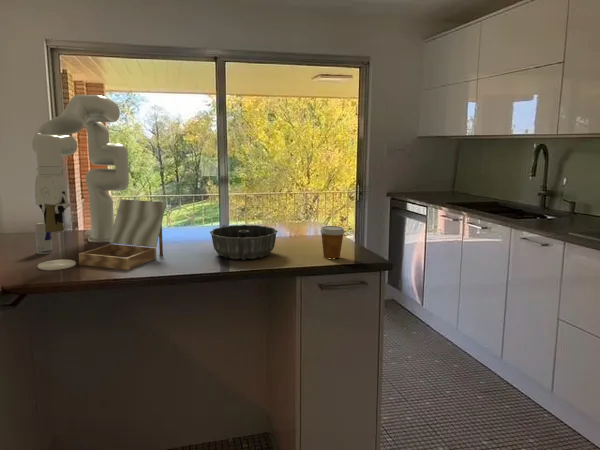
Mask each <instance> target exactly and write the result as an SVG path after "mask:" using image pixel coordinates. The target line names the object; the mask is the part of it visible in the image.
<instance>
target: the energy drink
mask: <svg viewBox="0 0 600 450" xmlns="http://www.w3.org/2000/svg"><path fill="white" fill-rule="evenodd" d="M34 231H35V232H34V233H35V243H36V244H35V245H36V253H37V255H49V254H51V253H53V243H52V242H53V241H52V232H45V223H44V221H38V222H35V225H34Z"/></svg>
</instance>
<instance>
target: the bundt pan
mask: <svg viewBox="0 0 600 450" xmlns="http://www.w3.org/2000/svg"><path fill="white" fill-rule="evenodd" d="M209 233H210V235H211V240H212V245H213V248H214V251H215V252H216V253H217V254H218V255H219V256H221V257H223V256H224V257H223V258H225V259H227V258H230V259H233V260H240V259H241V260H243V261H245V260H247V259H249V260H254V259H257V258H258V259H261V258H264V257H265V256H268V255H269V254H270V253H271V252H272V251H273V249H274V248H275V245H276V238H277V234H278V230H277V229H276V228H274V227H271V226H270V227H269V226H267V225H266V226H265V225H257V224H249V225H248V224H240V225H239V224H238V225H236V224H235V225H228V226H220V227H217V228H213V229H212V230H210V231H209Z"/></svg>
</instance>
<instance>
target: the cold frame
mask: <svg viewBox="0 0 600 450" xmlns="http://www.w3.org/2000/svg"><path fill="white" fill-rule="evenodd" d="M118 204H119V205H118V208H117V212H116V215H115V219H114V228H113V232H112V236H111V241H110V242H109V244H106V245H103V246H99V247H96V248H93V249H90V250H87V251H83V252H79V253H78V265H80V266H81V265H82V266H90V267H99V268H107V269H108V268H110V269H118V270H119V269H120V270H126V271H129V270H131V269H134V268H136V267H138V266H141V265H143V264H146V263H148V262H150V261H154V260H156V259H157V247H158V246H159V247H158V248H159V256H161V257H163V256H164V254H163V253H164V249H163V248H164V247H163V246H164V245H163V243H164V242H163V220H164V215H165V209H166V205H167V202H166V201H154V200H152V201H151V200H140V199H139V200H138V199H137V200H136V199H123V198H122V199H120V200H119V203H118ZM158 244H159V245H158Z"/></svg>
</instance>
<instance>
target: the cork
mask: <svg viewBox="0 0 600 450" xmlns="http://www.w3.org/2000/svg"><path fill="white" fill-rule="evenodd" d="M59 204H61V203H59ZM44 206H45V208H46V209H47V210H46V224H45V232H51V233H57V232H58V233H59V232H63V231H65V228H64V223H63V224H62V222H58V221H57V225H56V223H55V215H54V214H56V212H55V205H48V204H45V205H44ZM58 207H59V208H60V206H58Z"/></svg>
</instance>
